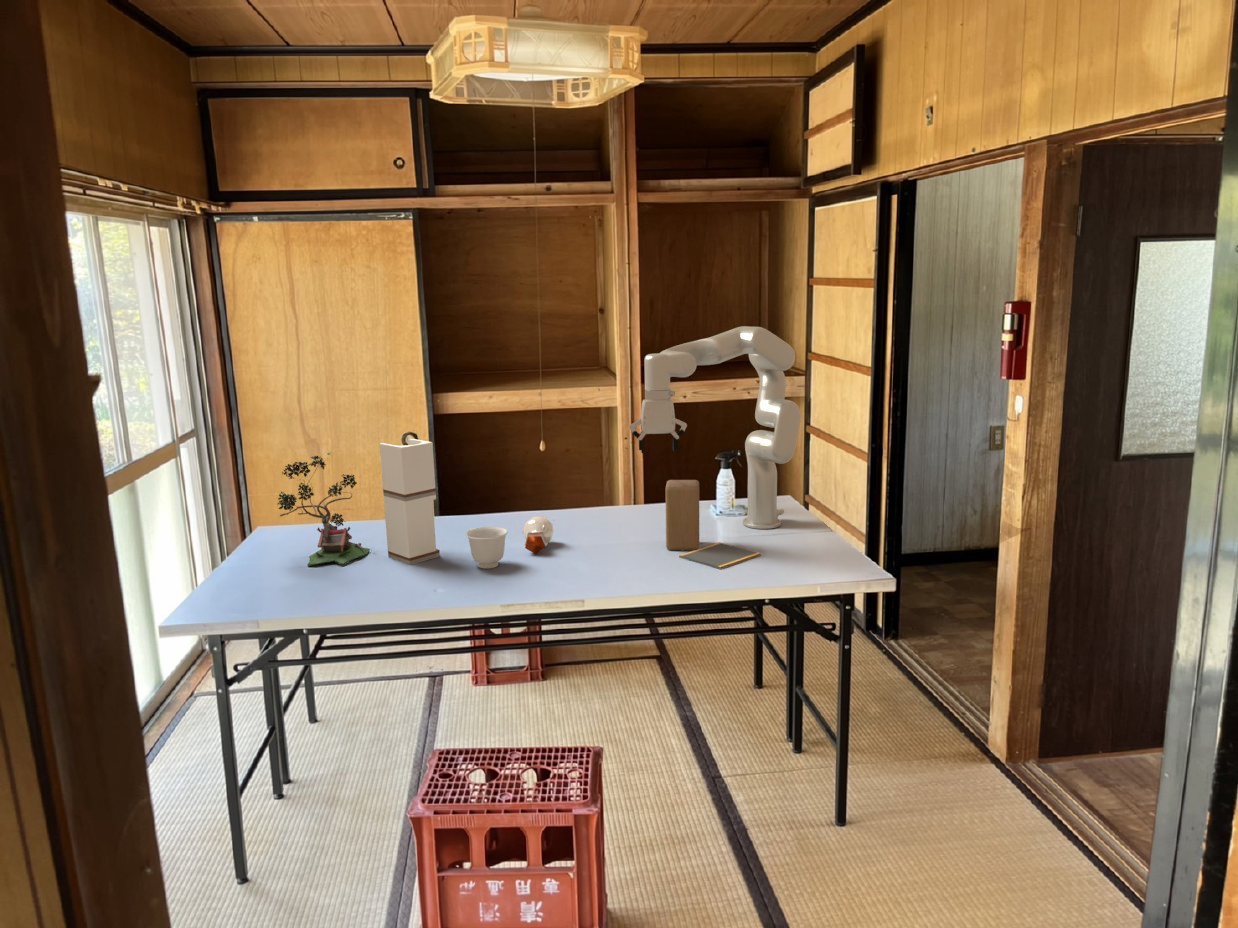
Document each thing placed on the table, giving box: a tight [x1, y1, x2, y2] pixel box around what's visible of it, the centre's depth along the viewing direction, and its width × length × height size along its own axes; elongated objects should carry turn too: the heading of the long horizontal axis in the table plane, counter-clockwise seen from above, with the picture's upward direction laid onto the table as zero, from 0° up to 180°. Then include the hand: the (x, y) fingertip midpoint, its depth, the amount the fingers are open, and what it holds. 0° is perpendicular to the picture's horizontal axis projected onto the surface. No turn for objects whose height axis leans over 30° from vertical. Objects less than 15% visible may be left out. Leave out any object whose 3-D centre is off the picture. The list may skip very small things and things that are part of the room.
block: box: [665, 479, 700, 551], centre depth 264 cm, size 10×10×20 cm
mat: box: [678, 542, 761, 570], centre depth 255 cm, size 18×16×1 cm
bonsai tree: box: [277, 455, 371, 568], centre depth 255 cm, size 35×24×32 cm
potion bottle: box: [522, 515, 555, 555], centre depth 267 cm, size 9×10×15 cm
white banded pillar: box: [379, 437, 441, 566], centre depth 258 cm, size 11×11×35 cm
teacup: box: [465, 526, 508, 569], centre depth 252 cm, size 12×15×10 cm
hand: (658, 452), depth 261 cm, fingers open, 9 cm apart
